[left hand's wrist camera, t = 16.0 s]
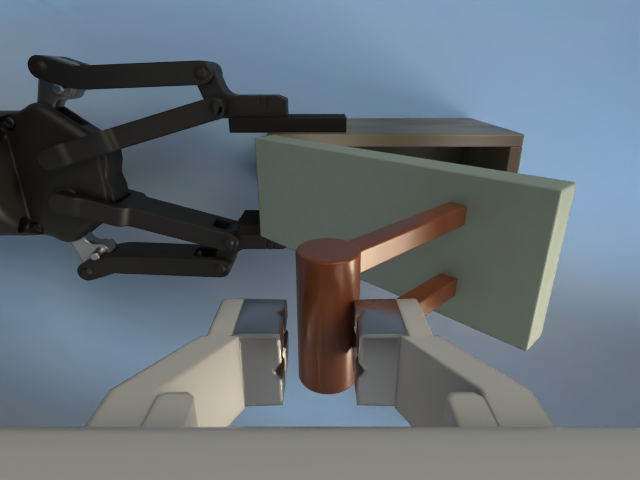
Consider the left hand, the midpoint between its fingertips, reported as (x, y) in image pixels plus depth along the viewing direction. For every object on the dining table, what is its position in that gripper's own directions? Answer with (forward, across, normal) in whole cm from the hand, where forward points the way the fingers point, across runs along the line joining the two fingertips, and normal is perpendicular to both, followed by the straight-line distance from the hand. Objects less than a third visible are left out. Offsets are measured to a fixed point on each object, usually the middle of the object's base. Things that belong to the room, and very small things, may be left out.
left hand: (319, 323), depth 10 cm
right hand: (+16, +1, 0) cm, 16 cm away
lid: (+9, +3, 0) cm, 9 cm away
